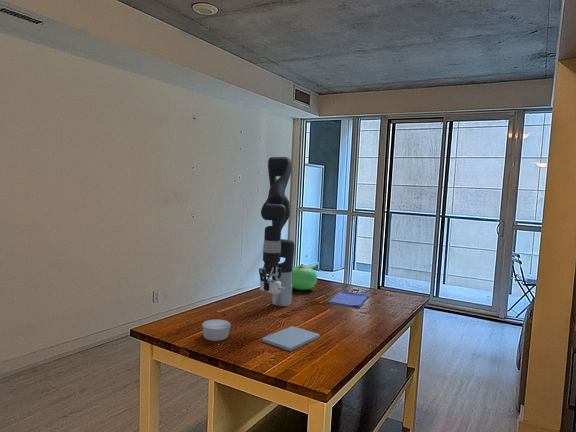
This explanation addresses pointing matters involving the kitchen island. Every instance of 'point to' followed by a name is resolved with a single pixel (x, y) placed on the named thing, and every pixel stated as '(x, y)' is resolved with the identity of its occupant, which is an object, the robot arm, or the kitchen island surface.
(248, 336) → the kitchen island surface
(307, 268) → the green apple
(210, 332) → the ramekin
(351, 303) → the dish towel
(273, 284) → the rounded plug
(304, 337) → the cutting board
